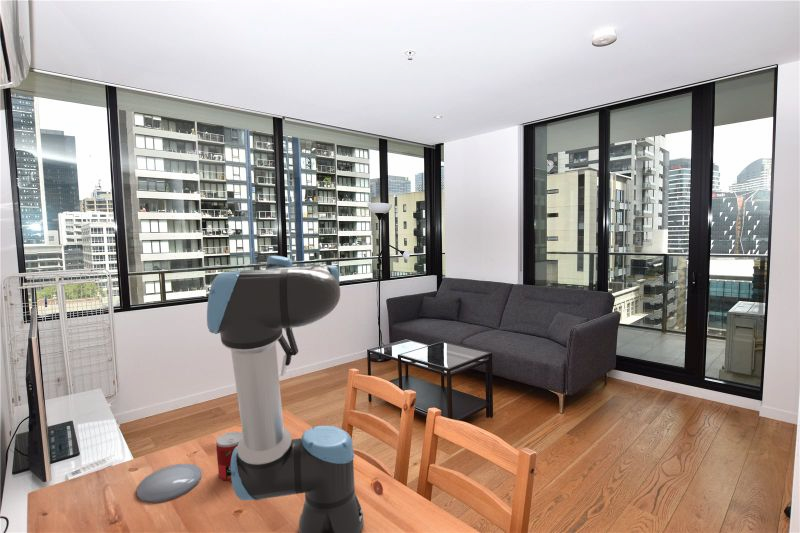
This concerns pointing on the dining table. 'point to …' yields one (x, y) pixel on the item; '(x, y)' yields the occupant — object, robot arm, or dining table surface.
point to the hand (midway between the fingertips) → (262, 370)
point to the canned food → (226, 453)
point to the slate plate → (169, 483)
